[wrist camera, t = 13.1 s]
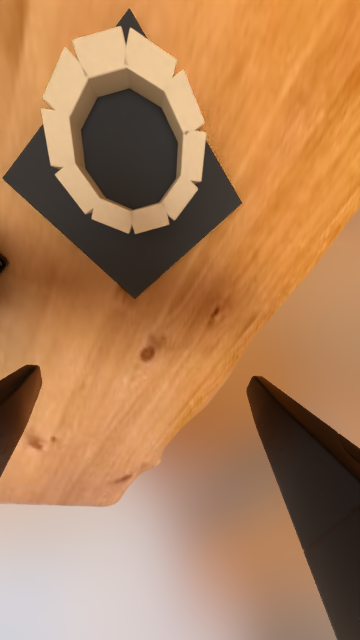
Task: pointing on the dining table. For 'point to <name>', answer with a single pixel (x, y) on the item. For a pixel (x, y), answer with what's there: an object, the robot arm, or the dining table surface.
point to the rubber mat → (126, 186)
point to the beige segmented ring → (109, 77)
